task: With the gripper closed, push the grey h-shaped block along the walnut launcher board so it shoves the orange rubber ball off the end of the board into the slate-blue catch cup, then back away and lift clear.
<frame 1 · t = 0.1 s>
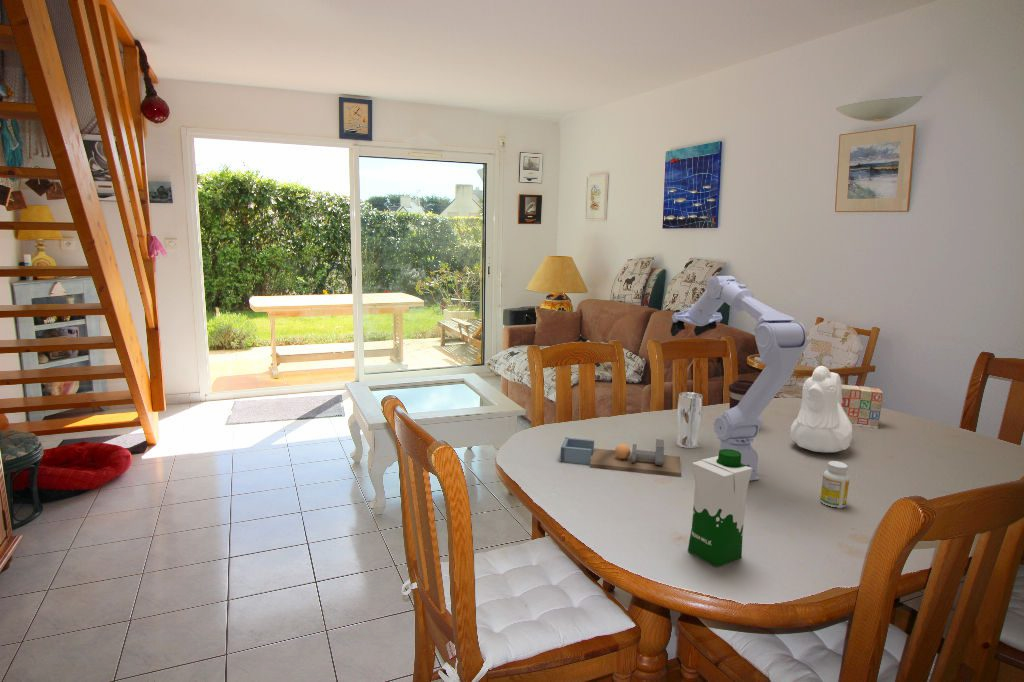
hand: (684, 333, 179), 32 cm above the table, tool tilted 50°, fingers open, 7 cm apart
milk carton: (713, 555, 118), on the table
grey h-shaped block: (647, 451, 162), point 4 cm above the table, slide at 0.0 cm
stack of blocks: (840, 422, 205), on the table
ball: (622, 451, 164), point 3 cm above the table, touching launcher board
supplement bottle: (832, 504, 141), on the table
coffee cup: (741, 428, 196), on the table
launcher board: (664, 466, 162), on the table
silver soda can: (687, 445, 179), on the table
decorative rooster: (824, 447, 180), on the table
catch cup: (579, 457, 167), on the table
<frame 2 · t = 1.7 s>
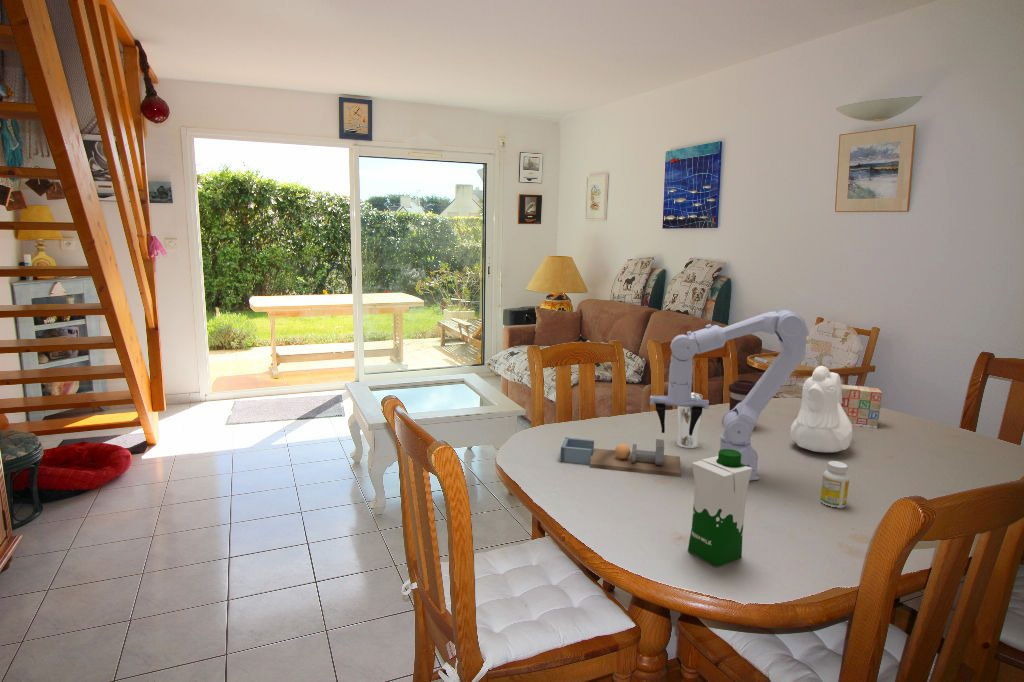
hand: (676, 433, 160), 9 cm above the table, tool pointing down, fingers open, 6 cm apart
nothing on the table moved.
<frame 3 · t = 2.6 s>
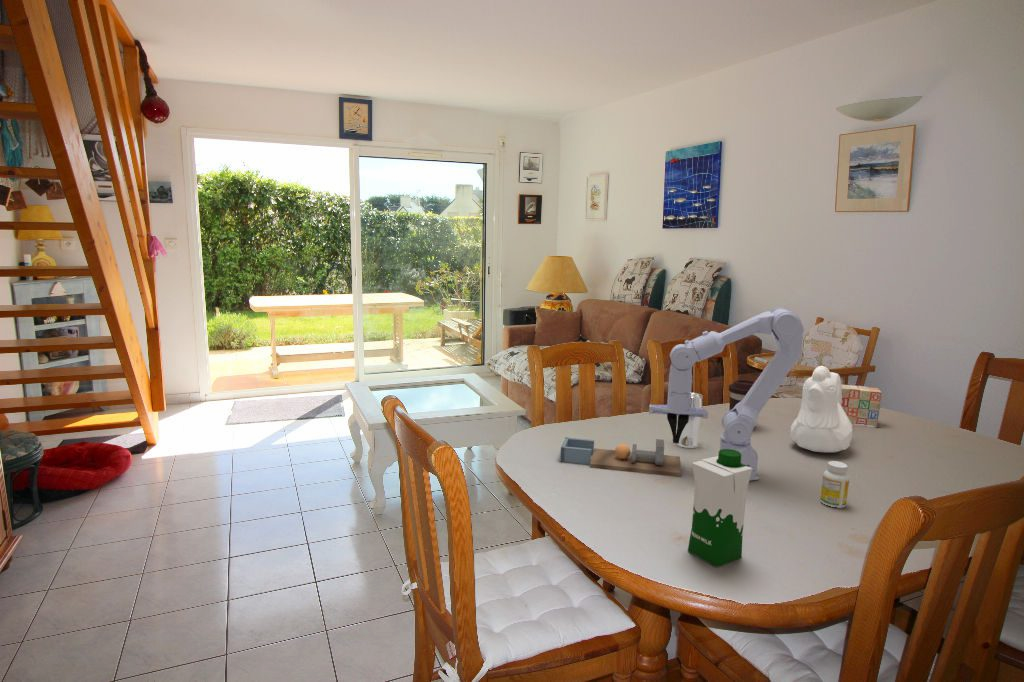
hand: (675, 442, 160), 7 cm above the table, tool pointing down, fingers closed
nothing on the table moved.
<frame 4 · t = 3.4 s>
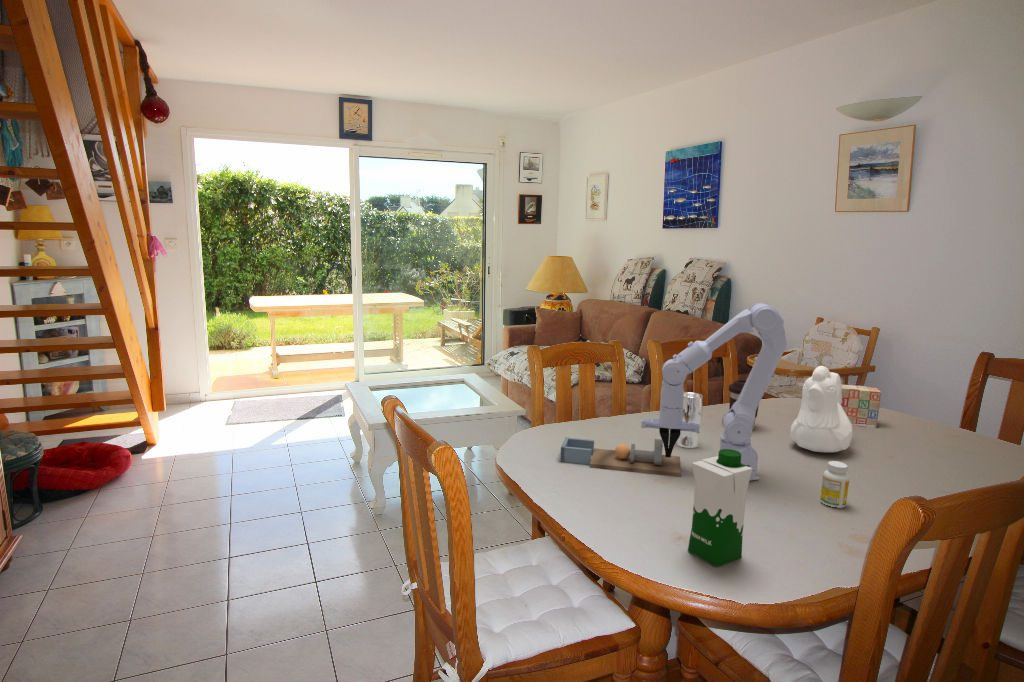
hand: (667, 456, 161), 3 cm above the table, tool pointing down, fingers closed
grey h-shaped block: (646, 450, 162), point 4 cm above the table, slide at 0.4 cm, touching gripper
everything else where it was.
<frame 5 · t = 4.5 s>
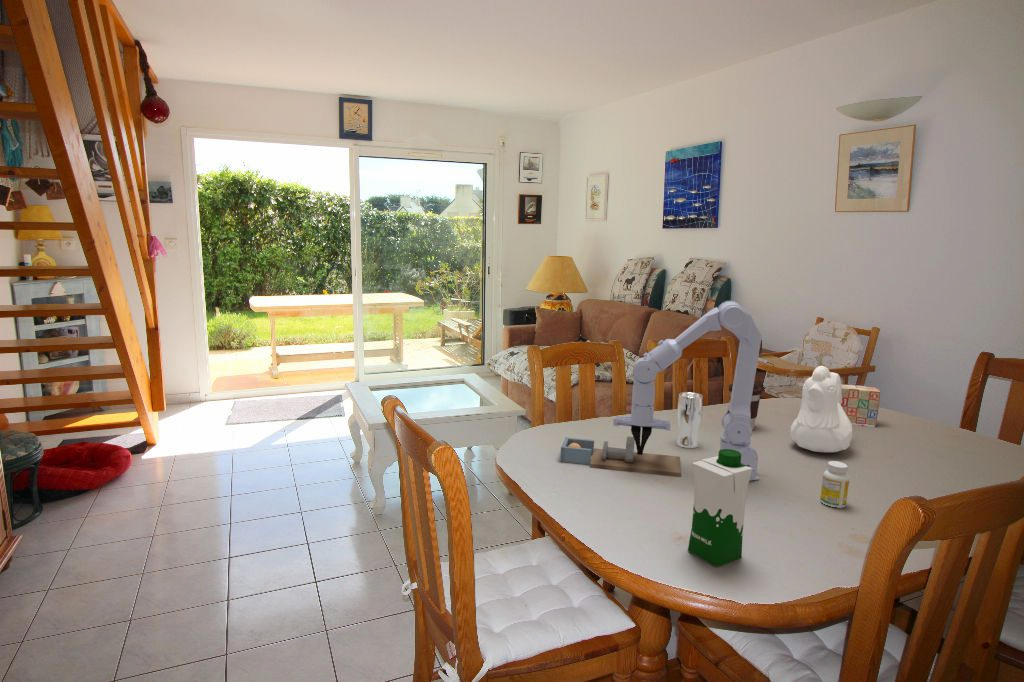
hand: (639, 453, 163), 3 cm above the table, tool pointing down, fingers closed
grey h-shaped block: (618, 448, 164), point 4 cm above the table, slide at 7.6 cm, touching gripper
ball: (574, 450, 167), point 2 cm above the table, tilted 20°
everything else where it was.
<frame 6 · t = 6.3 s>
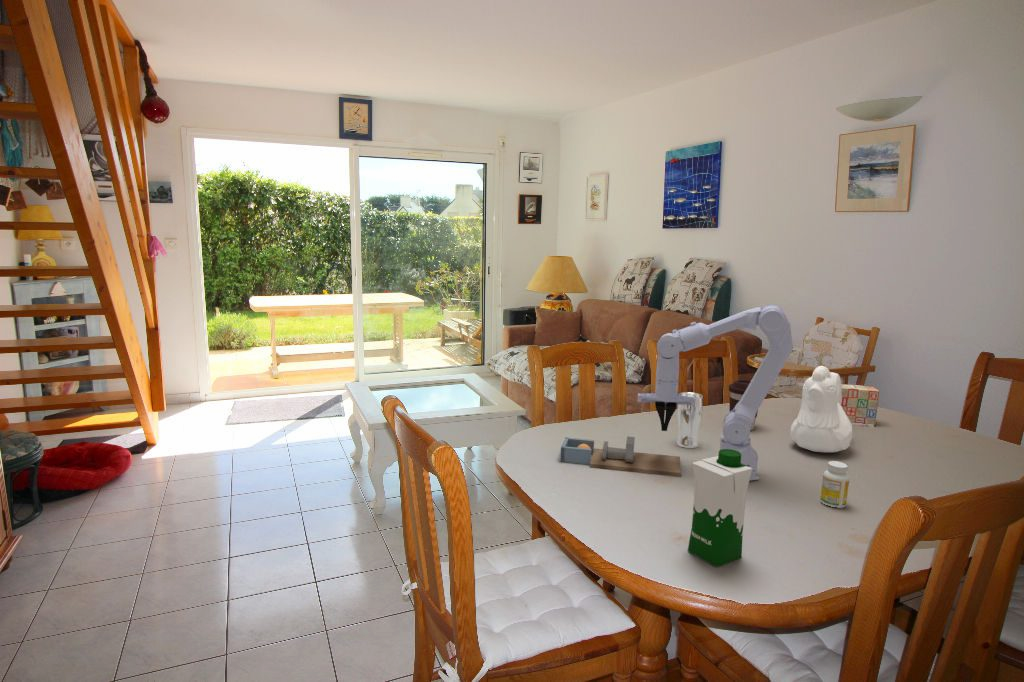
hand: (664, 429, 163), 9 cm above the table, tool pointing down, fingers closed
grey h-shaped block: (618, 448, 164), point 4 cm above the table, slide at 7.6 cm
ball: (583, 451, 166), point 2 cm above the table, tilted 52°
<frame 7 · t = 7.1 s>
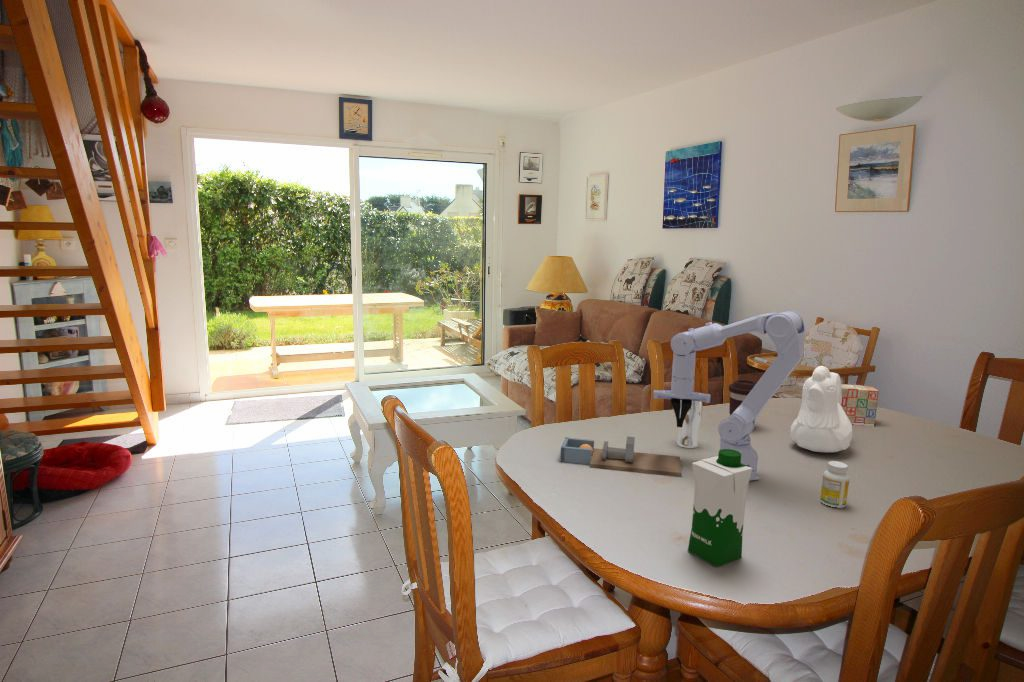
hand: (679, 426, 166), 9 cm above the table, tool pointing down, fingers closed
ball: (585, 451, 166), point 2 cm above the table, tilted 68°
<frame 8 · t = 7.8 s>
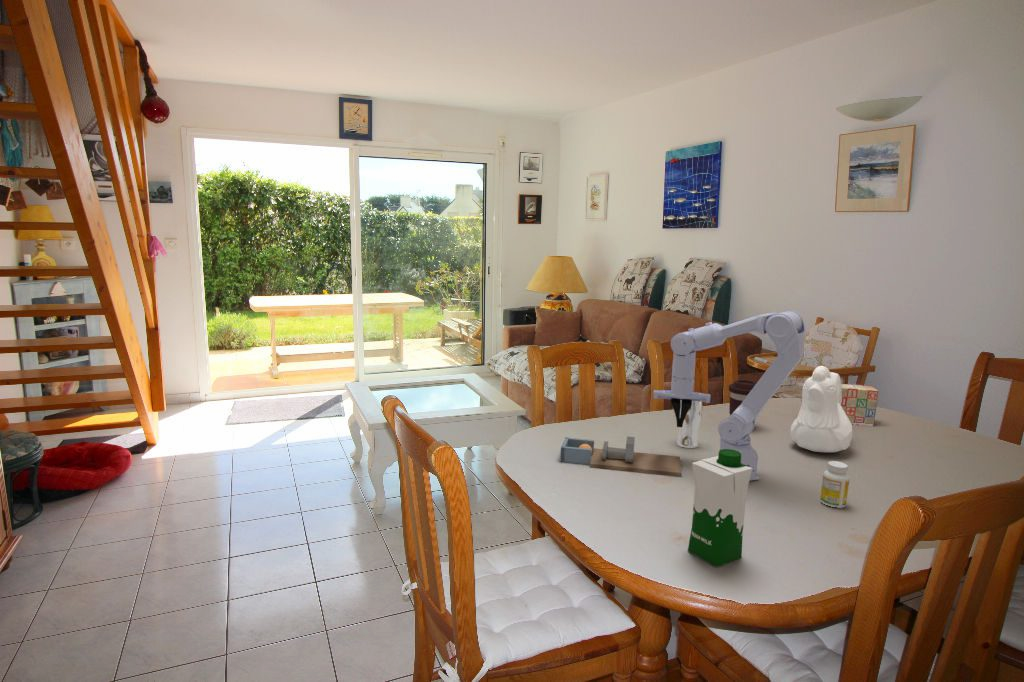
hand: (679, 426, 166), 9 cm above the table, tool pointing down, fingers closed
ball: (584, 451, 166), point 2 cm above the table, tilted 63°
at the end: ball inside the target area on the catch cup (1.5 cm from its centre), point 2.0 cm above the catch cup's base; ball 1.5 cm from the catch cup (horizontally) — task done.
